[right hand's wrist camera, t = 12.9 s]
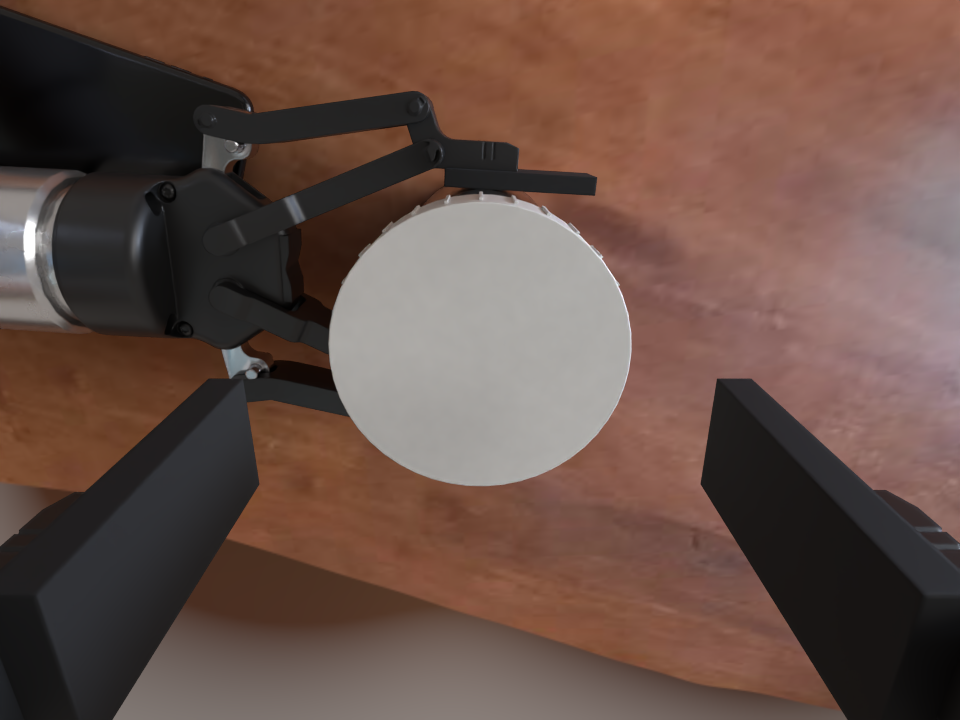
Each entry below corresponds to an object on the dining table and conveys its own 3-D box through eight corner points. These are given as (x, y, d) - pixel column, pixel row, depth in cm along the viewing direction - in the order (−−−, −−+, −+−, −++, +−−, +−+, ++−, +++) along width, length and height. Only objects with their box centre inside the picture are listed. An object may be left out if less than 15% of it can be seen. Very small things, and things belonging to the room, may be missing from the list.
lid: (364, 159, 18) (349, 163, 16) (656, 228, 19) (678, 240, 17) (324, 426, 21) (308, 458, 19) (574, 475, 22) (584, 511, 20)
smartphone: (-63, 145, 32) (234, 241, 33) (-78, 145, 31) (227, 244, 33) (-62, -18, 29) (261, 96, 31) (-78, -22, 28) (254, 95, 30)
